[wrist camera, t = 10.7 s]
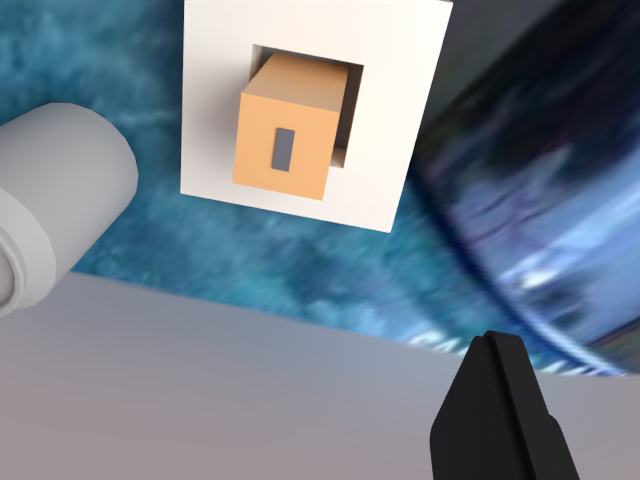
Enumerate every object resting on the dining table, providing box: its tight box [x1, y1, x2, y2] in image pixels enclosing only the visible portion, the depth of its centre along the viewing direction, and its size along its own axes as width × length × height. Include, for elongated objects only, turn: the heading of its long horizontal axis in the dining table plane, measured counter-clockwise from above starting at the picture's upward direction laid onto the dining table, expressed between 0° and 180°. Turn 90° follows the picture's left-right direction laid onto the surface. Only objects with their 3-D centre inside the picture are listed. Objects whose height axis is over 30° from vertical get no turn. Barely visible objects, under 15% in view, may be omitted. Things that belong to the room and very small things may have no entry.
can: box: [0, 103, 139, 317], centre depth 27 cm, size 8×8×12 cm
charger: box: [233, 52, 349, 201], centre depth 25 cm, size 4×4×8 cm
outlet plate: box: [181, 0, 453, 233], centre depth 27 cm, size 12×12×3 cm
